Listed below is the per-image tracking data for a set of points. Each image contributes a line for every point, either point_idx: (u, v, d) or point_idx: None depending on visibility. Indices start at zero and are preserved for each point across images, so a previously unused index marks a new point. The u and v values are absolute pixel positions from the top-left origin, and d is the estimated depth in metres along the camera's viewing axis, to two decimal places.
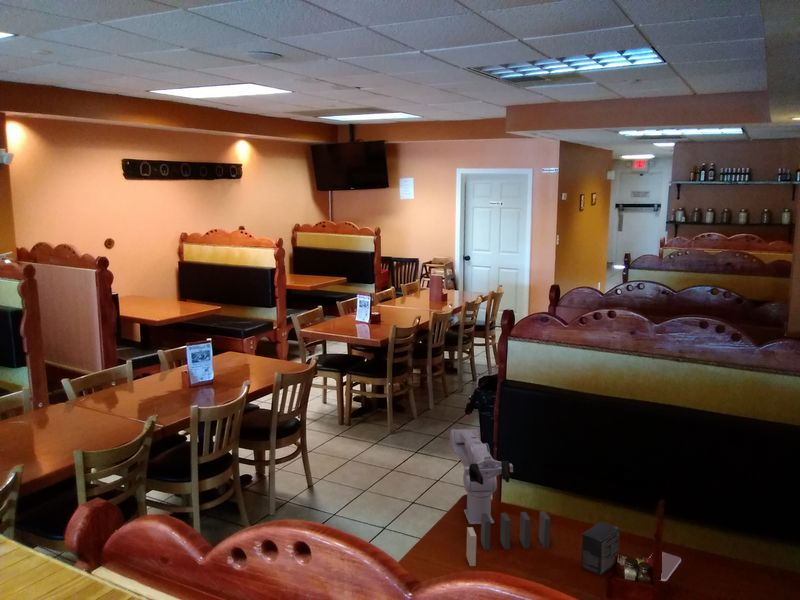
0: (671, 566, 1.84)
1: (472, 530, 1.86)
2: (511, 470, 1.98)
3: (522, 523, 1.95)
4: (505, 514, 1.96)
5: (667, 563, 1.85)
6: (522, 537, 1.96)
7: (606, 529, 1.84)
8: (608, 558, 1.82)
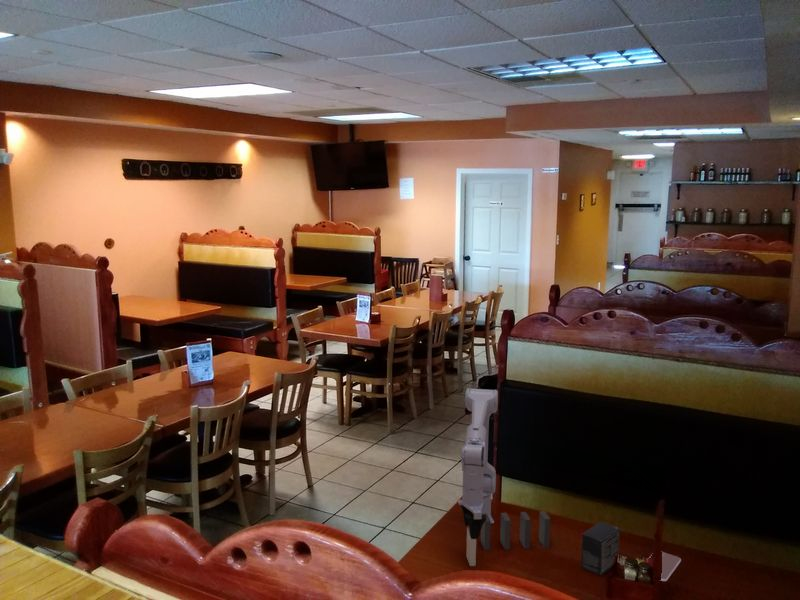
0: (671, 566, 1.84)
1: None
2: None
3: (522, 523, 1.95)
4: (505, 514, 1.96)
5: (667, 563, 1.85)
6: (522, 536, 1.96)
7: (606, 529, 1.84)
8: (608, 558, 1.82)
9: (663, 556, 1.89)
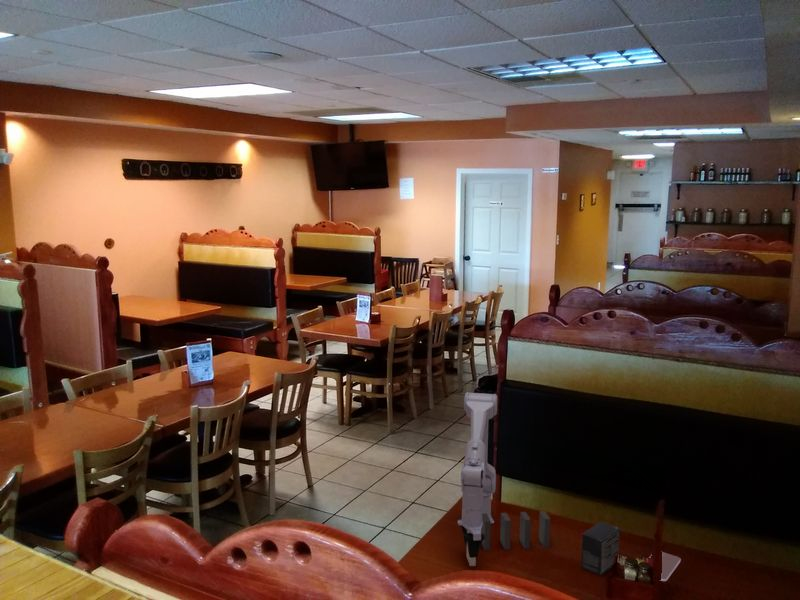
0: (671, 566, 1.84)
1: None
2: None
3: (522, 523, 1.95)
4: (505, 514, 1.96)
5: (667, 563, 1.85)
6: (522, 537, 1.96)
7: (606, 529, 1.84)
8: (608, 558, 1.82)
9: (663, 556, 1.89)
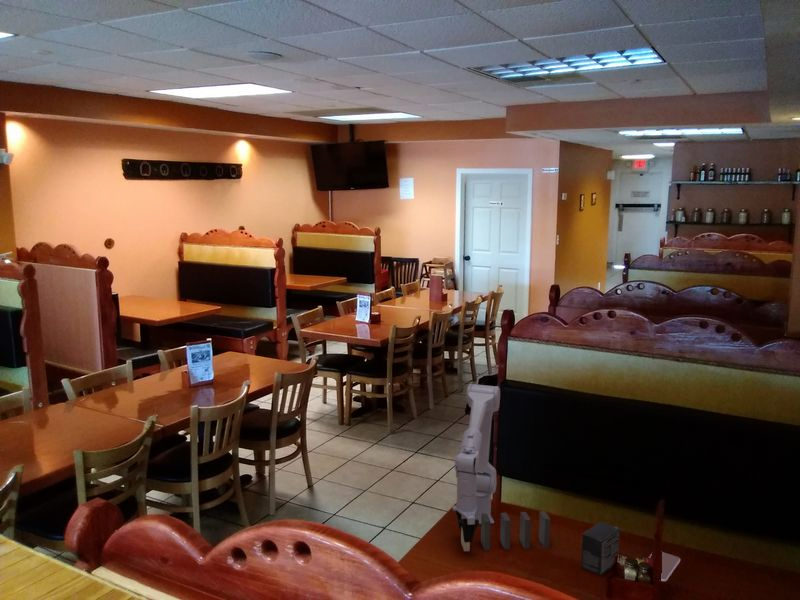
0: (670, 566, 1.84)
1: None
2: None
3: (522, 523, 1.95)
4: (505, 514, 1.96)
5: (667, 563, 1.85)
6: (522, 537, 1.96)
7: (606, 529, 1.84)
8: (608, 558, 1.82)
9: (662, 556, 1.89)
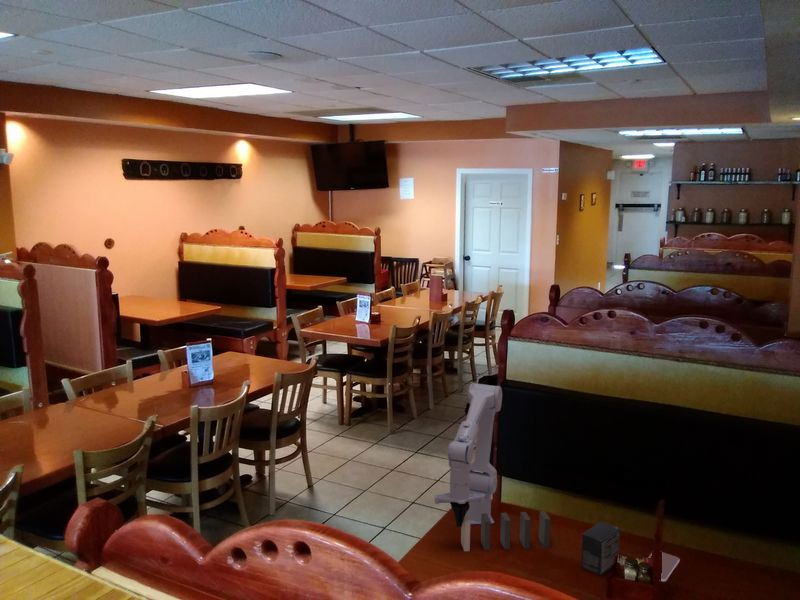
0: (670, 566, 1.84)
1: (466, 517, 1.94)
2: None
3: (522, 523, 1.95)
4: (505, 514, 1.96)
5: (666, 563, 1.85)
6: (522, 537, 1.96)
7: (606, 529, 1.84)
8: (608, 558, 1.82)
9: (662, 556, 1.89)
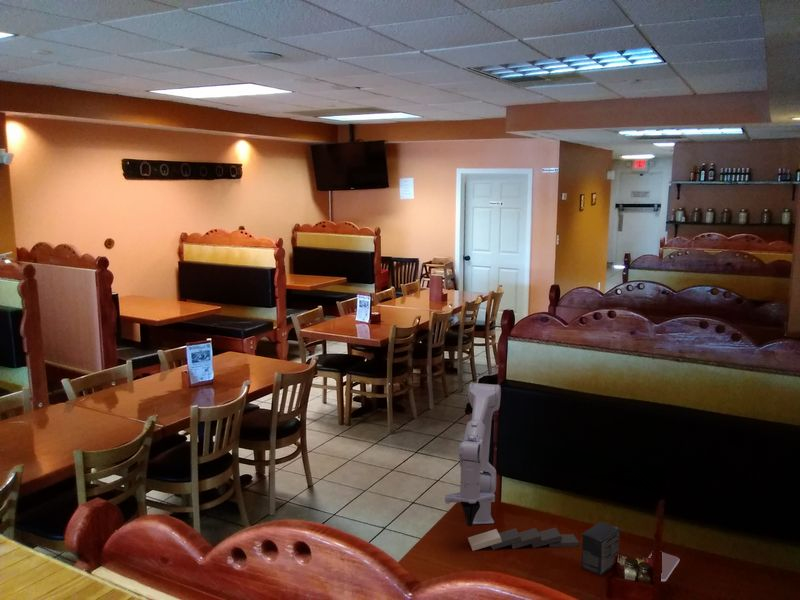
0: (670, 566, 1.84)
1: None
2: None
3: (550, 533, 1.97)
4: None
5: (666, 563, 1.85)
6: None
7: (606, 529, 1.84)
8: (608, 558, 1.82)
9: (662, 556, 1.89)
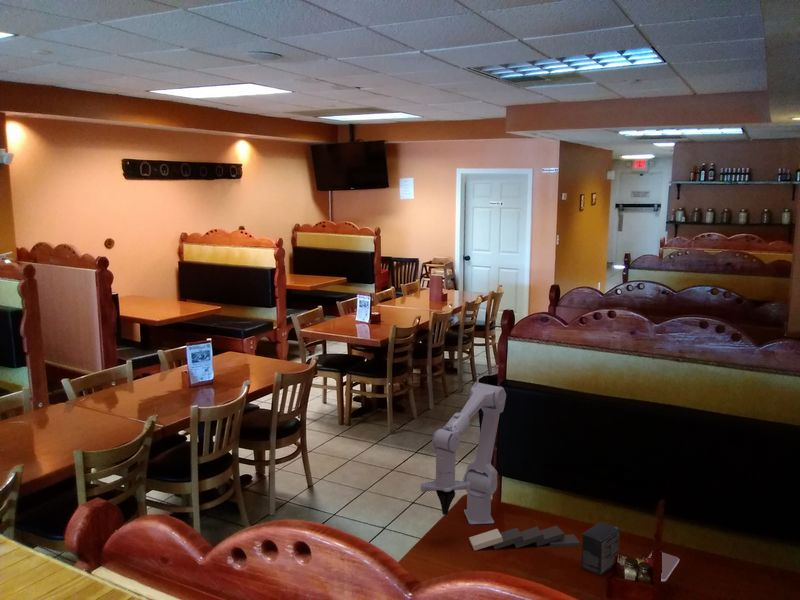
0: (670, 566, 1.84)
1: None
2: None
3: (552, 531, 1.98)
4: None
5: (666, 563, 1.85)
6: None
7: (606, 529, 1.84)
8: (608, 558, 1.82)
9: None
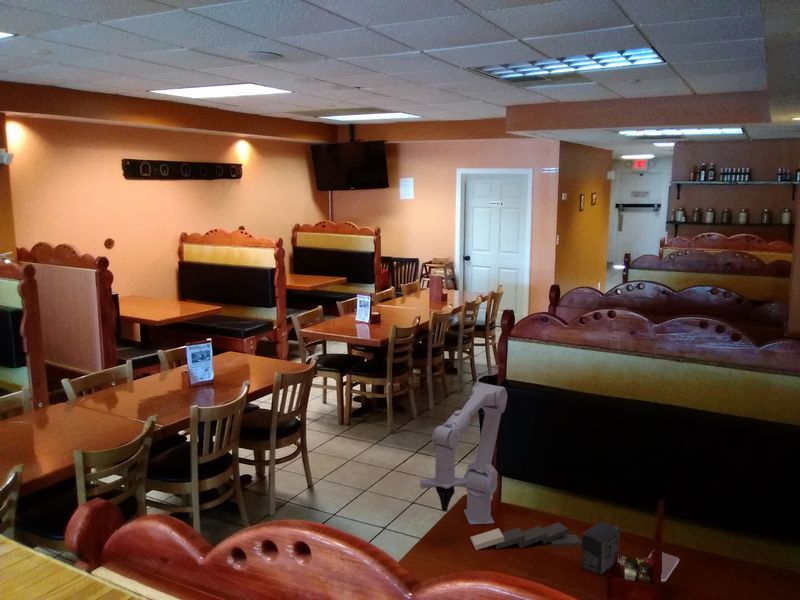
0: (669, 566, 1.84)
1: None
2: None
3: (556, 527, 2.00)
4: None
5: (666, 563, 1.85)
6: None
7: (606, 529, 1.84)
8: (608, 558, 1.82)
9: None
